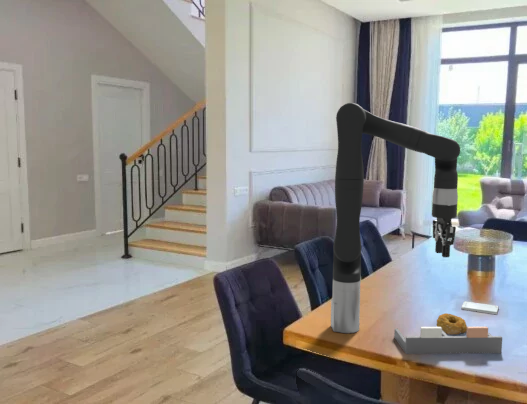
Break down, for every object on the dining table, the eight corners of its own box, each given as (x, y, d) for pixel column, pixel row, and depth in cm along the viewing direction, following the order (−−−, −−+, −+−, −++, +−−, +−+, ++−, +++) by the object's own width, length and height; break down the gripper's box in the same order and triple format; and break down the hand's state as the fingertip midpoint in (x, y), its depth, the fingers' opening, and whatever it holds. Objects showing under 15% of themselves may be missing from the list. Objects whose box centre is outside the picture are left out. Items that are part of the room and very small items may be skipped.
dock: (406, 354, 157) (407, 328, 156) (394, 337, 170) (395, 313, 169) (501, 353, 157) (503, 327, 156) (482, 336, 170) (483, 313, 169)
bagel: (435, 333, 173) (436, 319, 173) (436, 323, 184) (437, 310, 183) (467, 338, 170) (468, 324, 169) (467, 327, 180) (468, 313, 179)
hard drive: (498, 305, 199) (464, 300, 205) (497, 311, 192) (461, 306, 198) (498, 309, 199) (464, 304, 205) (497, 316, 192) (461, 310, 198)
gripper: (425, 199, 172) (423, 250, 174) (441, 205, 157) (438, 260, 159) (448, 199, 172) (445, 250, 174) (465, 205, 157) (462, 260, 160)
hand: (442, 254), depth 167 cm, fingers open, 5 cm apart
